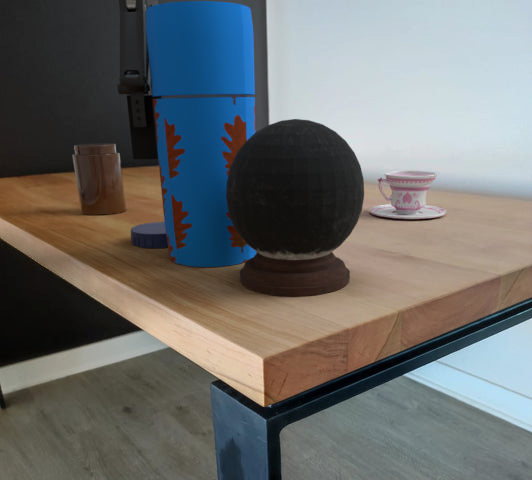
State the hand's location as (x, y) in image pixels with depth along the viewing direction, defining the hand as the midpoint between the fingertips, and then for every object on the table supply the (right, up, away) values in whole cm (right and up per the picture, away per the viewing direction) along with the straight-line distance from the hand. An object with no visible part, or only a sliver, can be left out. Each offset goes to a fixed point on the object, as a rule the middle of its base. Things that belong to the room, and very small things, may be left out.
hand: (156, 154), depth 68 cm
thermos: (+7, -13, -3) cm, 15 cm away
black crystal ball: (+17, -17, -12) cm, 27 cm away
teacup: (+36, -2, +20) cm, 42 cm away
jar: (-15, 0, +27) cm, 31 cm away
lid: (0, -9, +4) cm, 10 cm away
